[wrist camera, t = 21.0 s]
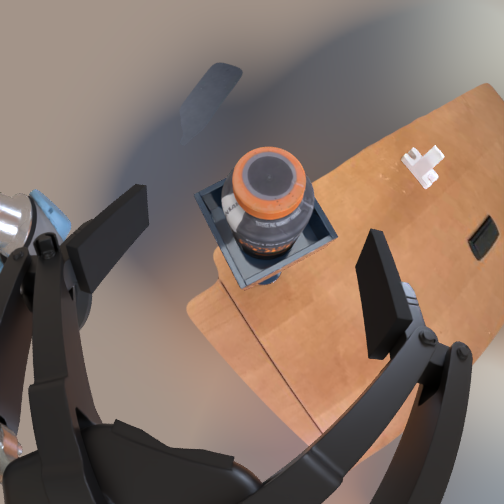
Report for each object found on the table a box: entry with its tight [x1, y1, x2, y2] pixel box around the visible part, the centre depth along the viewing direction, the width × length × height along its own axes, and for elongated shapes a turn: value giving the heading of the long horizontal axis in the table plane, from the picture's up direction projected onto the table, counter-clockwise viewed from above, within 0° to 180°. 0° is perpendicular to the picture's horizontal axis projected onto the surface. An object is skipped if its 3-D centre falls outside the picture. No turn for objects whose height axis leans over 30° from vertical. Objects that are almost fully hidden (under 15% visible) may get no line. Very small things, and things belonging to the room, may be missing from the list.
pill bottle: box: [221, 147, 314, 260], centre depth 20 cm, size 6×6×11 cm
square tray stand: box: [194, 178, 338, 291], centre depth 39 cm, size 8×8×36 cm
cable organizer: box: [401, 145, 445, 189], centre depth 54 cm, size 5×10×10 cm, turn 37°
